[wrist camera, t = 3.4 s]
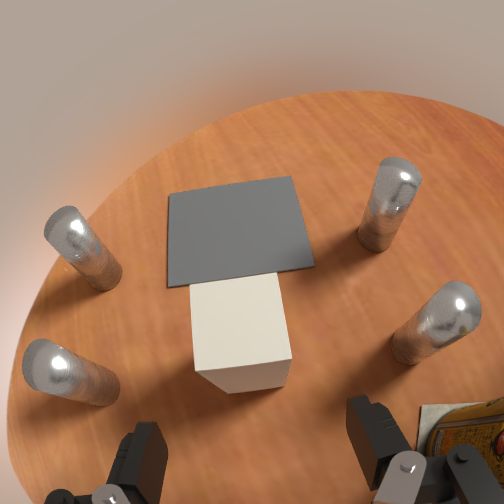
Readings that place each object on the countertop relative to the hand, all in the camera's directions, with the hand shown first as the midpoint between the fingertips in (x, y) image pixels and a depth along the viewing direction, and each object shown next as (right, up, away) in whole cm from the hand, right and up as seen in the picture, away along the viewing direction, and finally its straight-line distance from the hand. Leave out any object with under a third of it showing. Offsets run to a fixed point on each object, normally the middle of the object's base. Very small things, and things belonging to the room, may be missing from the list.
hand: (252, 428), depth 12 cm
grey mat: (-2, +9, +17) cm, 19 cm away
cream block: (0, -1, +10) cm, 10 cm away
